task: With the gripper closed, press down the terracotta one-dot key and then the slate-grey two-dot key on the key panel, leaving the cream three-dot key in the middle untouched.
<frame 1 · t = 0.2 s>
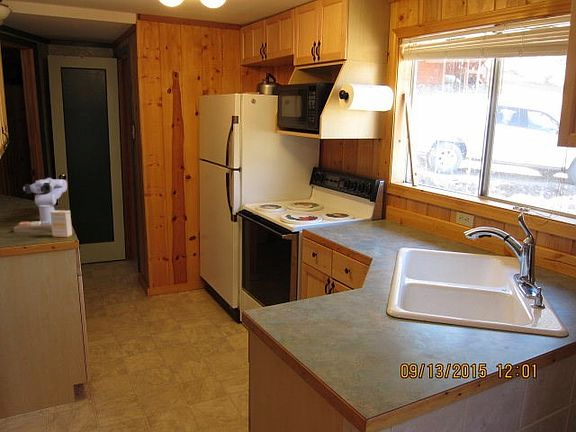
hand: (33, 190, 257), 21 cm above the counter, tool horizontal, fingers open, 7 cm apart
cream key: (35, 224, 261), point 3 cm above the counter, slide at 0.0 cm
key panel: (36, 229, 262), on the counter
supplement box: (62, 236, 249), on the counter
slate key: (46, 223, 263), point 3 cm above the counter, slide at 0.0 cm
terracotta key: (24, 224, 260), point 3 cm above the counter, slide at 0.0 cm
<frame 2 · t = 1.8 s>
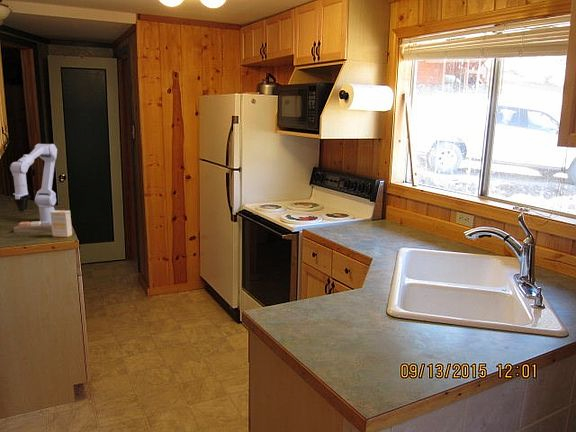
hand: (23, 210, 259), 10 cm above the counter, tool pointing down, fingers open, 5 cm apart
nothing on the counter moved.
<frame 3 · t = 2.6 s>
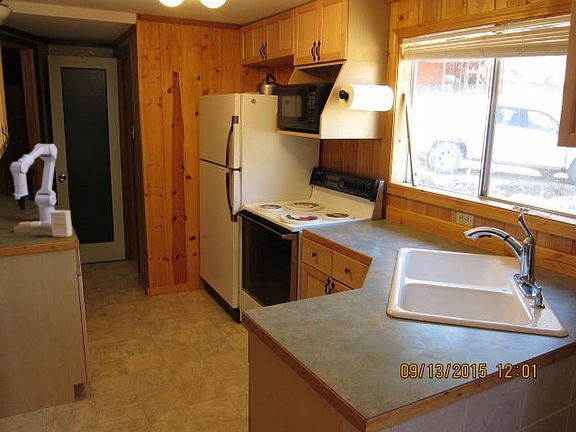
hand: (23, 210, 259), 10 cm above the counter, tool pointing down, fingers closed
nothing on the counter moved.
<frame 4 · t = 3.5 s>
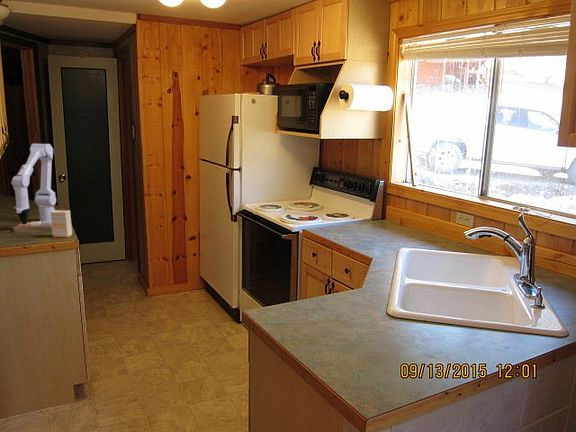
hand: (24, 223, 260), 3 cm above the counter, tool pointing down, fingers closed, pressing on terracotta key
terracotta key: (24, 225, 260), point 2 cm above the counter, slide at 0.7 cm, touching gripper
everything else where it was.
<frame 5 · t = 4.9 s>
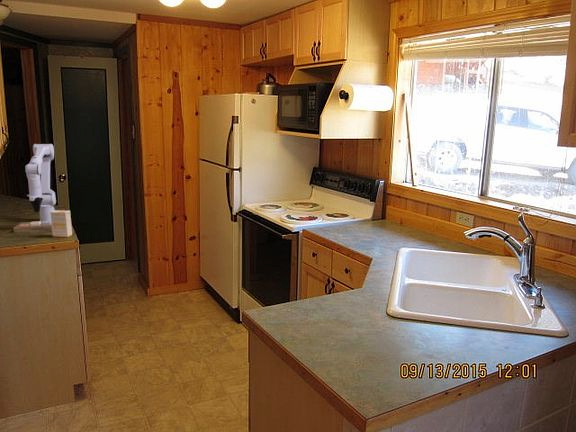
hand: (37, 211, 260), 9 cm above the counter, tool pointing down, fingers closed
terracotta key: (24, 226, 261), point 2 cm above the counter, slide at 1.1 cm
everything else where it was.
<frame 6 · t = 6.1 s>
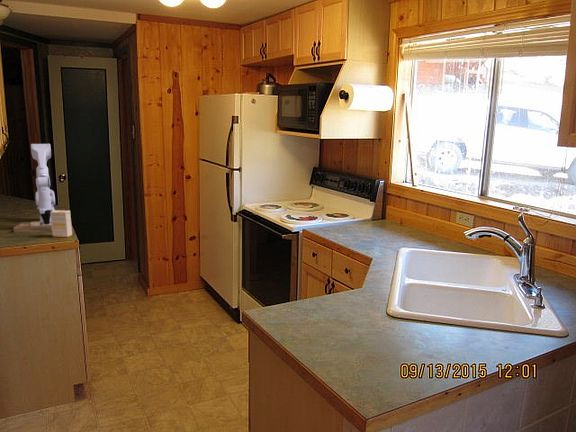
hand: (46, 224, 263), 3 cm above the counter, tool pointing down, fingers closed, pressing on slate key
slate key: (47, 225, 263), point 2 cm above the counter, slide at 1.2 cm, touching gripper
everything else where it was.
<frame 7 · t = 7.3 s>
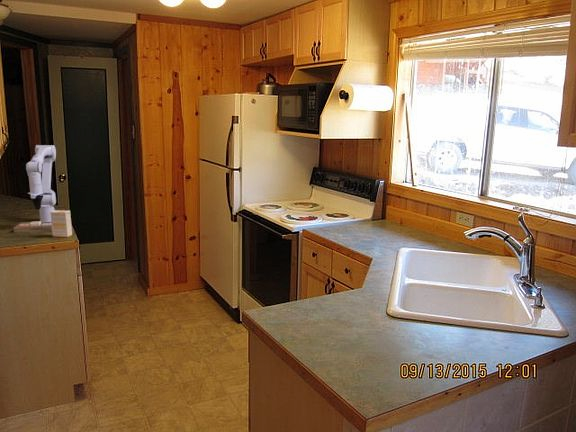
hand: (37, 209, 263), 10 cm above the counter, tool pointing down, fingers closed
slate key: (47, 225, 263), point 2 cm above the counter, slide at 1.1 cm
everything else where it was.
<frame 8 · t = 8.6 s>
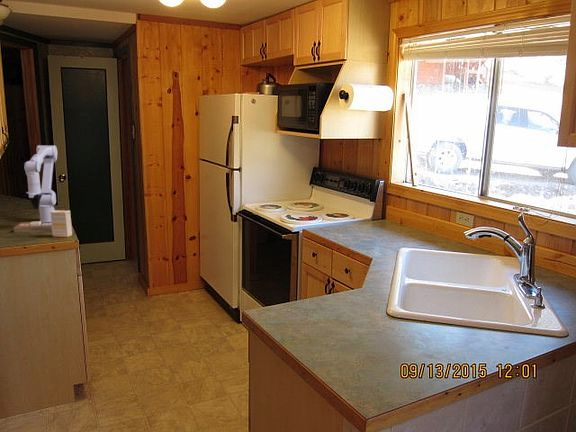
hand: (36, 208, 263), 10 cm above the counter, tool pointing down, fingers closed
nothing on the counter moved.
at the end: terracotta key slide at 1.1 cm; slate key slide at 1.1 cm; cream key slide at 0.0 cm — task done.
